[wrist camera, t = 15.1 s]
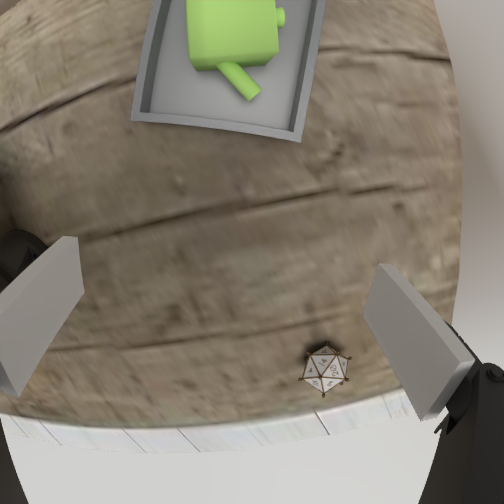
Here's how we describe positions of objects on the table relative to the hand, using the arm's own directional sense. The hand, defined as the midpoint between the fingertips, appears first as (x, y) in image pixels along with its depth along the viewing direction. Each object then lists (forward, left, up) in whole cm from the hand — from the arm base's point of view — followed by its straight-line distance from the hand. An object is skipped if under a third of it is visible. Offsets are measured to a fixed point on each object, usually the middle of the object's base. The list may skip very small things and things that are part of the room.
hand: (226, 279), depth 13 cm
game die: (+19, -28, -28) cm, 44 cm away
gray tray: (-3, +17, -28) cm, 33 cm away
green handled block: (-2, +17, -27) cm, 32 cm away
